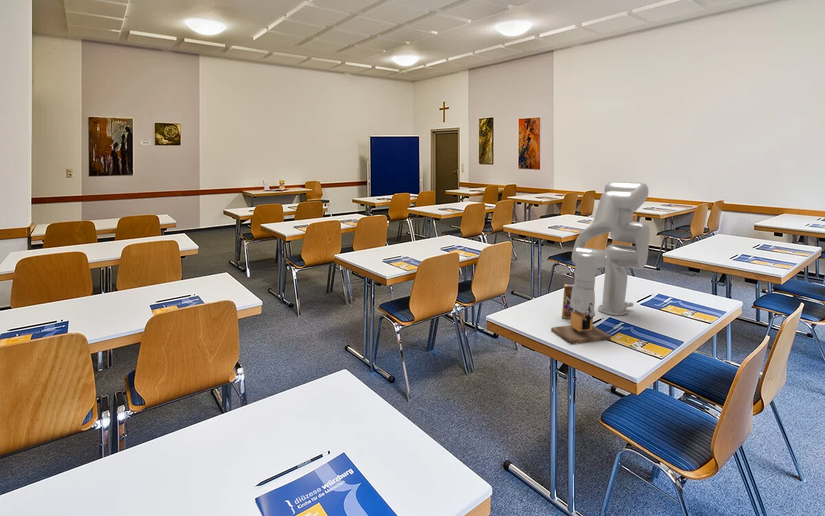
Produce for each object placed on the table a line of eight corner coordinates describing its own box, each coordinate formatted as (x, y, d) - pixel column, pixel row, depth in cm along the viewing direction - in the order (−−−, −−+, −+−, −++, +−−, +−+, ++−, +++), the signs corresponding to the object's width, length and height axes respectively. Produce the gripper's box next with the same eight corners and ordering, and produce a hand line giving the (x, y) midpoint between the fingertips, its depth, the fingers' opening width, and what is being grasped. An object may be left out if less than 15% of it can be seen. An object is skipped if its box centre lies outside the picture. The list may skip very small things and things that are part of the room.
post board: (589, 326, 195) (590, 310, 193) (610, 339, 182) (612, 321, 180) (551, 330, 191) (552, 313, 189) (570, 344, 177) (571, 326, 176)
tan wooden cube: (570, 325, 188) (571, 311, 186) (583, 324, 189) (584, 310, 188) (578, 331, 182) (579, 316, 181) (592, 329, 183) (593, 315, 182)
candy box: (561, 318, 204) (564, 285, 201) (561, 315, 208) (564, 283, 205) (583, 320, 202) (585, 287, 198) (582, 317, 206) (585, 284, 202)
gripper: (563, 278, 188) (560, 319, 193) (589, 290, 172) (585, 335, 176) (580, 277, 190) (576, 318, 194) (606, 288, 174) (602, 333, 178)
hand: (580, 325), depth 185 cm, fingers closed on tan wooden cube, 5 cm apart
